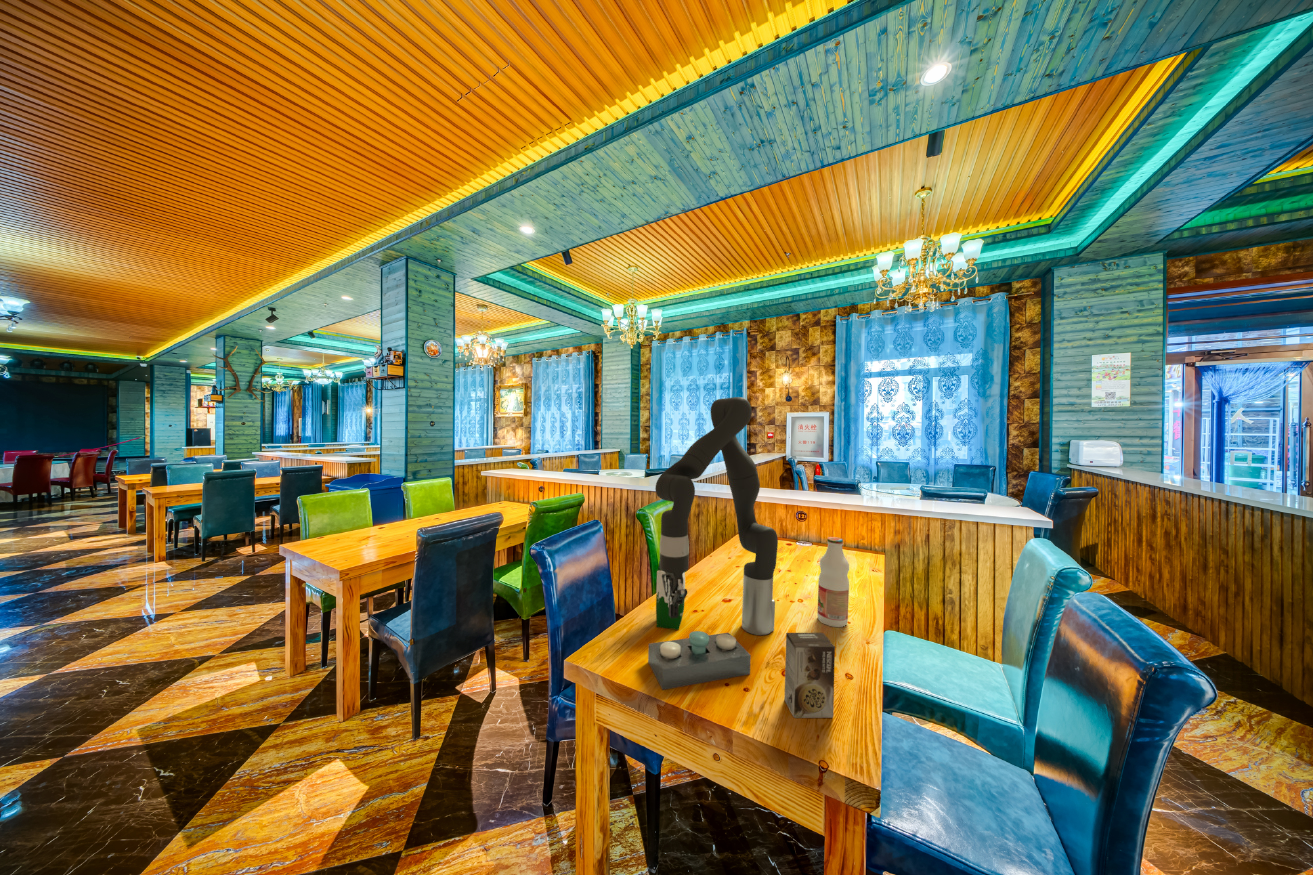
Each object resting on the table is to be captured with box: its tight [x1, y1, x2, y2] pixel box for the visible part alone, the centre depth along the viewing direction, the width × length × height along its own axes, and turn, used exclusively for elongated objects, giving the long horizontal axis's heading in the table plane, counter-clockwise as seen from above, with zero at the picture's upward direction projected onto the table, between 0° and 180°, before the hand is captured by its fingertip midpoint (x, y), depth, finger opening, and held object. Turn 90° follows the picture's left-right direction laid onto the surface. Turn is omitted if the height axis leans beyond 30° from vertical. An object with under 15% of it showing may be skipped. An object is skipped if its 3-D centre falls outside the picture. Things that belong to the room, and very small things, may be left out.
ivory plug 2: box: [716, 633, 737, 651], centre depth 109 cm, size 5×5×6 cm
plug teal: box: [688, 630, 710, 655], centre depth 106 cm, size 5×5×6 cm
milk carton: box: [655, 560, 686, 631], centre depth 130 cm, size 9×9×20 cm
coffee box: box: [784, 632, 836, 719], centre depth 92 cm, size 9×6×16 cm
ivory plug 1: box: [660, 641, 681, 660], centre depth 104 cm, size 5×5×6 cm
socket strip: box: [647, 632, 752, 691], centre depth 106 cm, size 24×12×5 cm, turn 108°
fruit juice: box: [817, 536, 850, 628], centre depth 135 cm, size 9×9×28 cm
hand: (673, 616), depth 105 cm, fingers closed
